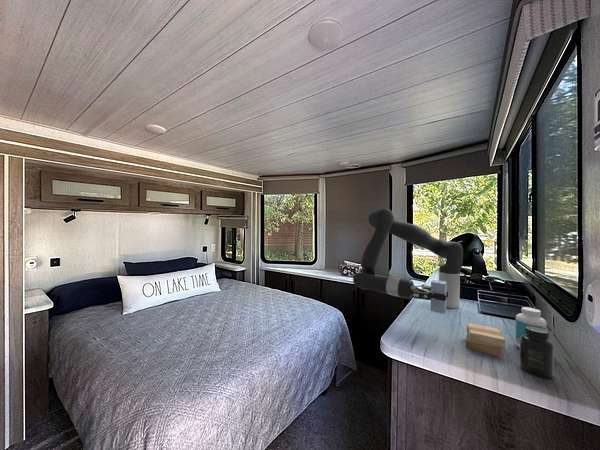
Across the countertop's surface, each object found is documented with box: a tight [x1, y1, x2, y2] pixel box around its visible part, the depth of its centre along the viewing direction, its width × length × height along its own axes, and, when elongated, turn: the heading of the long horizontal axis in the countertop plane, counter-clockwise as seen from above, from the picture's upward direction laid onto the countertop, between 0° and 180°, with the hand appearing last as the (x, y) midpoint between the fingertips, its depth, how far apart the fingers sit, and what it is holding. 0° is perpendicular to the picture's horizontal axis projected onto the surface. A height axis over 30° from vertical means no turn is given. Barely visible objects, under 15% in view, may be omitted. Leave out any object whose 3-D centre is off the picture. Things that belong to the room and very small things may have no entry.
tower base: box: [465, 333, 502, 358], centre depth 80 cm, size 9×9×3 cm
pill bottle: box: [514, 306, 548, 349], centre depth 79 cm, size 8×7×14 cm
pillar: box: [430, 279, 447, 315], centre depth 89 cm, size 4×4×11 cm
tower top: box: [466, 322, 506, 350], centre depth 80 cm, size 9×9×3 cm
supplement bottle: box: [519, 326, 555, 379], centre depth 67 cm, size 7×7×12 cm
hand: (446, 296), depth 87 cm, fingers closed on pillar, 4 cm apart
